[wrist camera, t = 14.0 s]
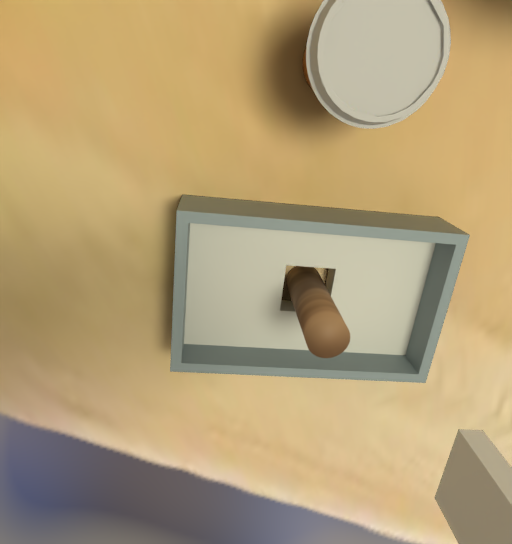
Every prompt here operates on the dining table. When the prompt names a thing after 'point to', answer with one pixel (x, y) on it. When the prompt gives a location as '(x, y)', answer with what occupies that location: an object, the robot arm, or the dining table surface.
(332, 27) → the disposable coffee cup
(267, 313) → the tray
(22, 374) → the dining table surface
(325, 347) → the dowel
